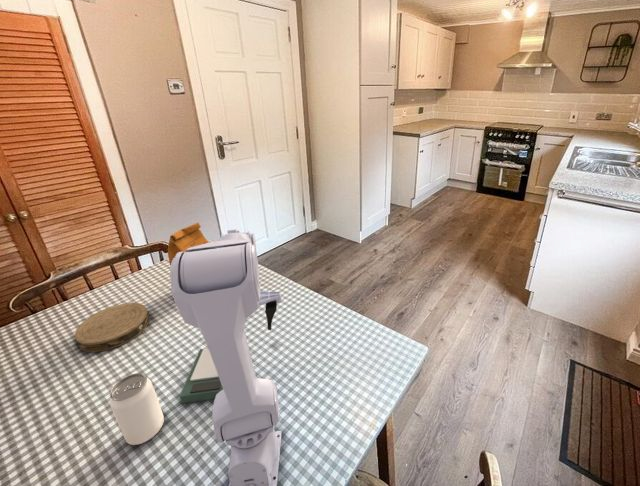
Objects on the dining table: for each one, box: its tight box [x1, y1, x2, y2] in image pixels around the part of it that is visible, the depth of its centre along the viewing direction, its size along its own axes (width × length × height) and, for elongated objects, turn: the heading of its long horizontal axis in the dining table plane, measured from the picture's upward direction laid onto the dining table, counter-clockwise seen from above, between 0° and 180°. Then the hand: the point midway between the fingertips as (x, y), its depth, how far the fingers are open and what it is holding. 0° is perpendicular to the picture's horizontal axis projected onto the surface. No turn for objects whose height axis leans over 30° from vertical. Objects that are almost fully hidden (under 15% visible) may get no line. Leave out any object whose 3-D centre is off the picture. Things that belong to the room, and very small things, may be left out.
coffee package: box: [167, 222, 209, 268], centre depth 101 cm, size 10×12×22 cm
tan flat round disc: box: [74, 302, 150, 353], centre depth 85 cm, size 16×16×3 cm
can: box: [109, 372, 165, 446], centre depth 58 cm, size 6×6×12 cm
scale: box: [179, 347, 223, 405], centre depth 72 cm, size 13×10×3 cm
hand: (253, 330), depth 72 cm, fingers open, 7 cm apart
